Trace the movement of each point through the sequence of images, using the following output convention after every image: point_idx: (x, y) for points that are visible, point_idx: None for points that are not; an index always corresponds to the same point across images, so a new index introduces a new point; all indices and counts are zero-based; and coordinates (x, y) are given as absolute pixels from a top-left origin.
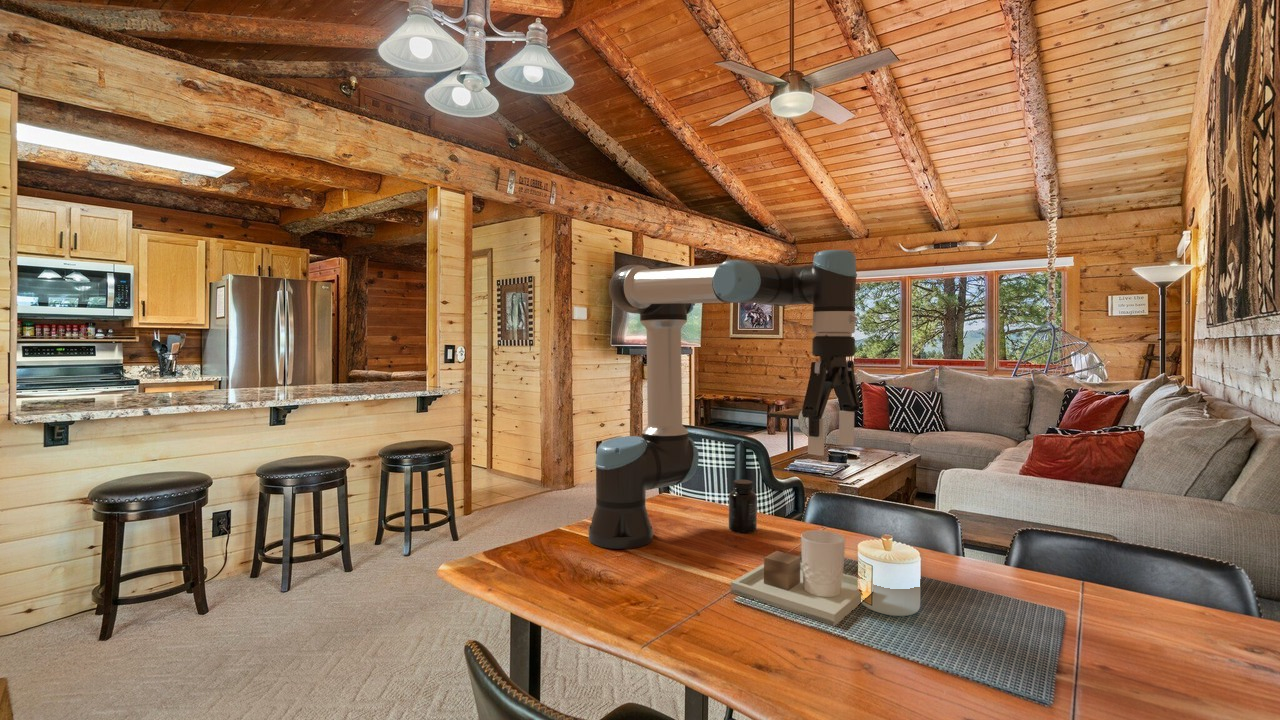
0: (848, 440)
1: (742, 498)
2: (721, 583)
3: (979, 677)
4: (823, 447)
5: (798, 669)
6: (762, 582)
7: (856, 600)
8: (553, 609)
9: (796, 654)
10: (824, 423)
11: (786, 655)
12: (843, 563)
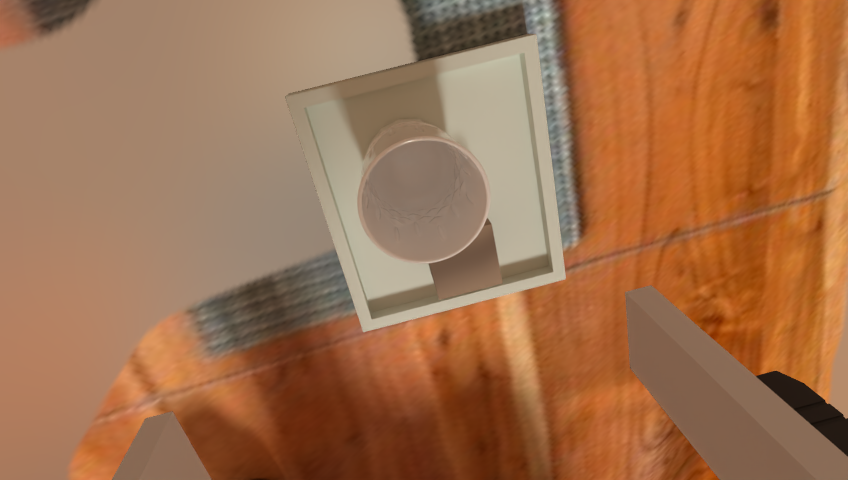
0: (174, 457)
1: None
2: (534, 310)
3: None
4: (662, 316)
5: None
6: None
7: (404, 66)
8: (813, 363)
9: (686, 3)
10: (788, 448)
11: (702, 13)
12: (389, 134)
